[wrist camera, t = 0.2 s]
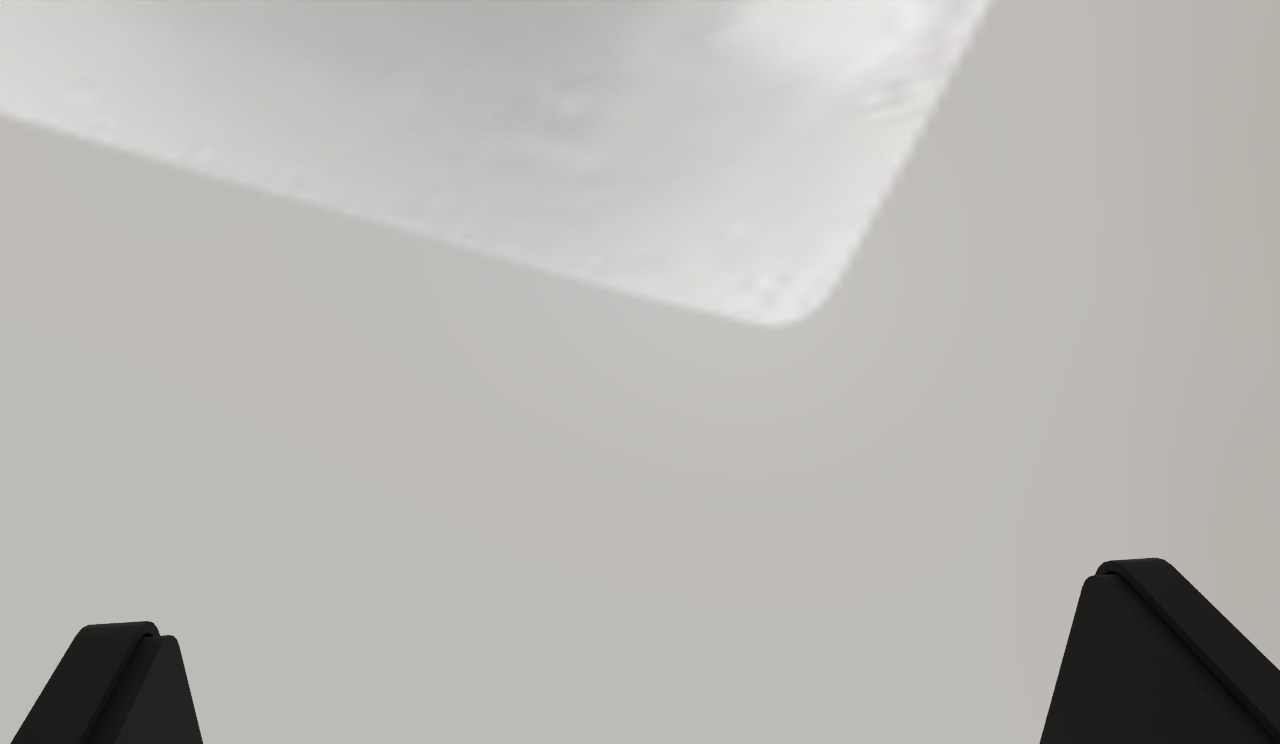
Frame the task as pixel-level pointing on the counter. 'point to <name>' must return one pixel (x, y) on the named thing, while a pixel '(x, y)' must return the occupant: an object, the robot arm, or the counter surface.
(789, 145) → the counter surface
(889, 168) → the counter surface
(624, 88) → the counter surface
